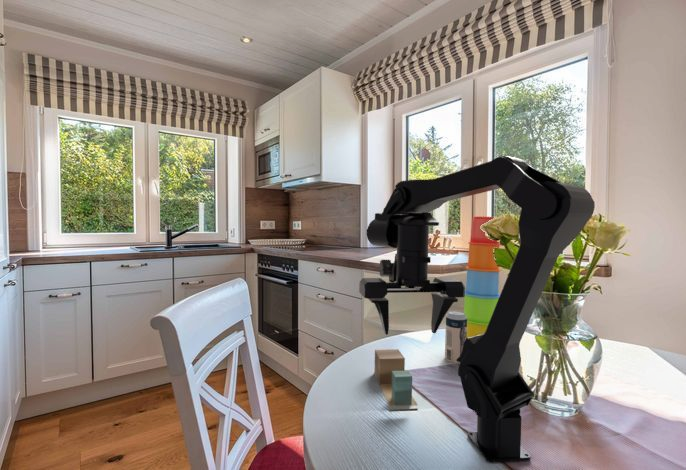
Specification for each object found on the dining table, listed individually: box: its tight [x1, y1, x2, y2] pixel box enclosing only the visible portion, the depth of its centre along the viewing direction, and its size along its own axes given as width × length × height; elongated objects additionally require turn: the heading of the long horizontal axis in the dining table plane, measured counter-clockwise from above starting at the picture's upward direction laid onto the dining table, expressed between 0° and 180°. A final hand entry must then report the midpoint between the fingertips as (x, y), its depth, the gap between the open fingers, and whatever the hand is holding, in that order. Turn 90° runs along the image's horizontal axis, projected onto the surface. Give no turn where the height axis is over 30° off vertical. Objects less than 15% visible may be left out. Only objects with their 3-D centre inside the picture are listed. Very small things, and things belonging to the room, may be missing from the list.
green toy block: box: [373, 370, 418, 413], centre depth 70 cm, size 14×5×6 cm, turn 6°
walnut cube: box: [373, 348, 406, 385], centre depth 74 cm, size 5×5×5 cm
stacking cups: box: [463, 216, 502, 338], centre depth 95 cm, size 10×10×35 cm
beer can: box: [444, 310, 467, 364], centre depth 84 cm, size 5×5×12 cm
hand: (410, 333), depth 67 cm, fingers open, 9 cm apart
